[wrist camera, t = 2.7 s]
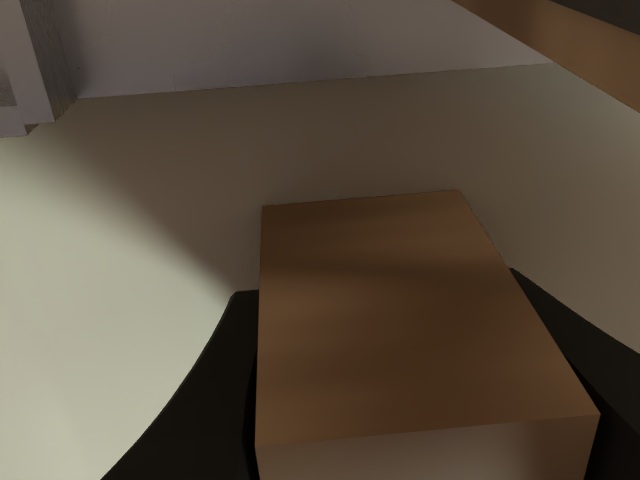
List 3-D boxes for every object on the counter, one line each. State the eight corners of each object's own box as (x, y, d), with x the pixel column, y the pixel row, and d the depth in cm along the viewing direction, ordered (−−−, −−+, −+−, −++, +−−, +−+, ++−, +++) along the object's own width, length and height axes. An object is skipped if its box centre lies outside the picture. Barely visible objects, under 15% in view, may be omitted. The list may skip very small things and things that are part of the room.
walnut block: (279, 357, 14) (284, 632, 9) (262, 206, 12) (254, 446, 7) (452, 341, 14) (557, 602, 9) (463, 189, 12) (608, 412, 7)
